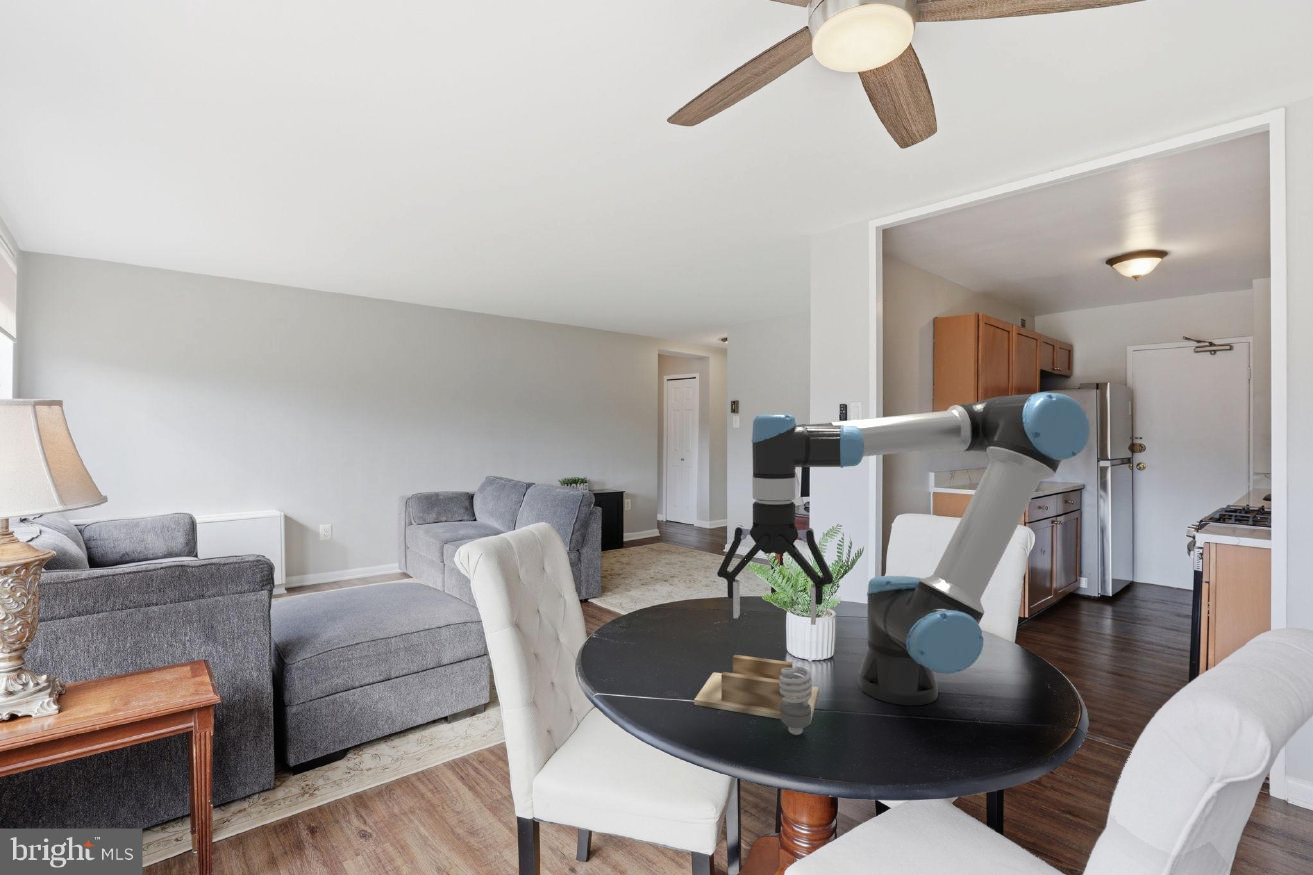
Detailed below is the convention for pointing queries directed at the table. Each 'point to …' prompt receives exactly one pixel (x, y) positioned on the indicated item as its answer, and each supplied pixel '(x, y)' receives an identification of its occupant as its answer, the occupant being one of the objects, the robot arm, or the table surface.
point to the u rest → (749, 688)
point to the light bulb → (795, 710)
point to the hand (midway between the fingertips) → (774, 619)
